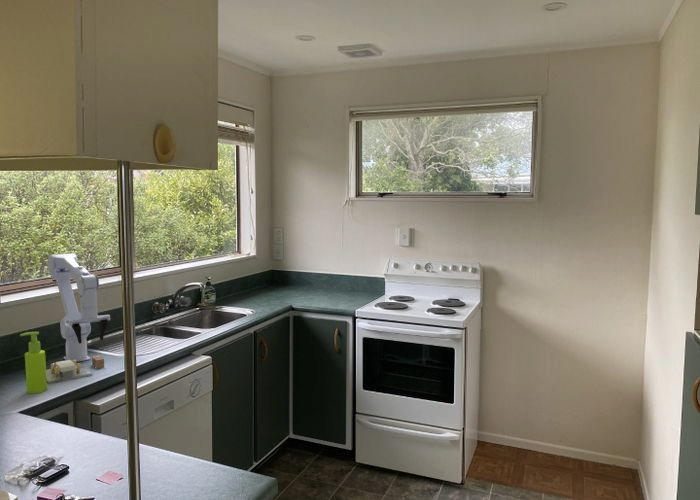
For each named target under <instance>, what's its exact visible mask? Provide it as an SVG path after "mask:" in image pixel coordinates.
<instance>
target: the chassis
mask: <svg viewBox="0 0 700 500" xmlns="http://www.w3.org/2000/svg"><path fill="white" fill-rule="evenodd" d="M72 362H73V363H74V364H75V365H76V370H70V371H65V372H60V371H59V370H58V367H56V366H55V362H53V363H50V368H49V369H46V377H47V384H49V385H50V384H54V383H55V384H56V383H59V382H66V381H70V380H75V379H80V378H85V377H92V376H93V373H92V372H91V371H90V370H89V369H88V368H86V367H85V366H84V365H83V364H82V363H81V362H76V360H72Z"/></svg>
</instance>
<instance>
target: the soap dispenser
mask: <svg viewBox="0 0 700 500" xmlns="http://www.w3.org/2000/svg"><path fill="white" fill-rule="evenodd" d="M39 333H40V331H26V332H24V333H20V334H19V337H24V336H30V341H29V342H28V351H27V352H25V353H24V362H25V377H26V393H27V394H31V395H32V394H39V393H43V392H45V391H47V390H48V382H47V377H46V370H47V366H46V365H47V364H46V351H45V350H44V349H43V350H42V349H41V341H40V340H38V335H39Z"/></svg>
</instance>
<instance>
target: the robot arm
mask: <svg viewBox="0 0 700 500" xmlns="http://www.w3.org/2000/svg"><path fill="white" fill-rule="evenodd" d="M47 269H48V271H49V274H50V277H51V278H53V279H55V281H56V284H57V289H58V292H59V295H60V299H61V300H60V301H61V303H62V307H63V310H64V315H65V316H64V317H63V318H62V319H61V320H60V323H59V325H60V334H61V336H62V338H63V339H65V340H66V341H65V355H66V356H64V357H63V359H64V361H66V360H71V361H72V360H76V363H79V362H83V361H89V360H91V357H90V356H88V345H87V338H88V336H89V335H90V334H91V331H92V327H91V323H98V330H99V335H98V337H99V340H100V341H103V340H104V335H105V333H106V329H107V327H108V325H109V321H111V315H110V314H103V315H99V314H98V297H97V296H98V295H97V289H99V286H100V280H99V277H98V275H97V274H96V273H94V274H93V273H92V274H91V273H90V272H89V271H88V270H87V269H86V268H85V267H84V266H83V265H79V263H78V257H77V254H75V253H74V252H71V253H62V254H61V253H60V254H49V256H48V257H47ZM70 278H72V279H73V281H74V282H76V287H77V292H78V295H79V296H80V297H79V300H80V301H79V302H80V303H79V304H80V311H79V308H78V304H77V301H76V298H75V293H74V291H73V286H72V282H71V279H70Z"/></svg>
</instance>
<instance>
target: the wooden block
mask: <svg viewBox="0 0 700 500" xmlns="http://www.w3.org/2000/svg"><path fill="white" fill-rule="evenodd" d="M91 363H92V364H91V365H92V366H93V367H94V368H95V369H102V368H105V358H103V357H102V356H101V355H95V356H91Z"/></svg>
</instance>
